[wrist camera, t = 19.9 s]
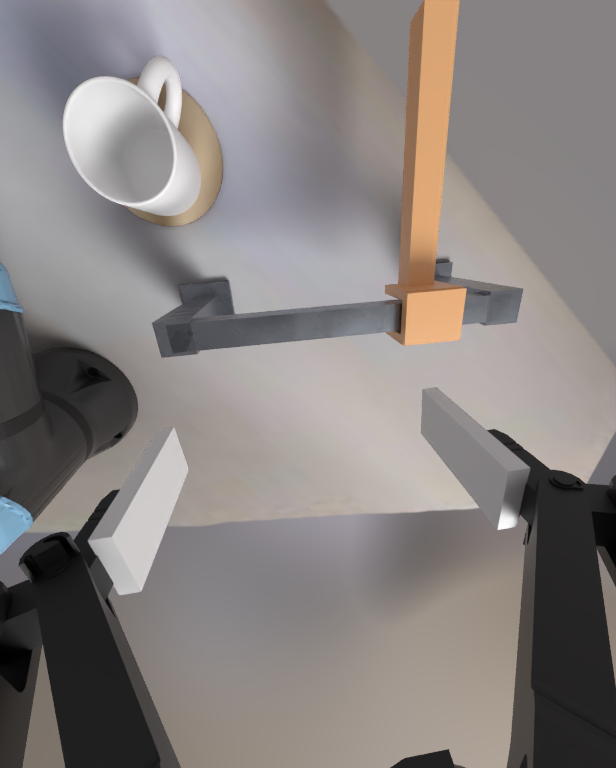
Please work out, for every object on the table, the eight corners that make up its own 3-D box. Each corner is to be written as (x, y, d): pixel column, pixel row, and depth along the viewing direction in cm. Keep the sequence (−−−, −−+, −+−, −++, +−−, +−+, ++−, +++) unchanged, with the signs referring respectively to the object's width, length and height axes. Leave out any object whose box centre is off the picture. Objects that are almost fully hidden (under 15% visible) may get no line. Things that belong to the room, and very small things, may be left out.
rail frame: (191, 331, 41) (148, 375, 27) (180, 284, 39) (127, 305, 25) (445, 307, 43) (528, 336, 29) (450, 261, 41) (543, 269, 27)
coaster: (118, 230, 36) (116, 229, 35) (75, 82, 30) (72, 79, 30) (232, 221, 36) (231, 221, 36) (210, 77, 31) (209, 74, 31)
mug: (146, 64, 30) (88, -20, 21) (227, 118, 32) (209, 64, 23) (113, 191, 34) (51, 169, 24) (187, 231, 36) (157, 225, 27)
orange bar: (383, 331, 32) (404, 346, 27) (393, 22, 23) (427, -41, 18) (430, 326, 32) (459, 341, 27) (458, 20, 23) (510, -43, 18)
